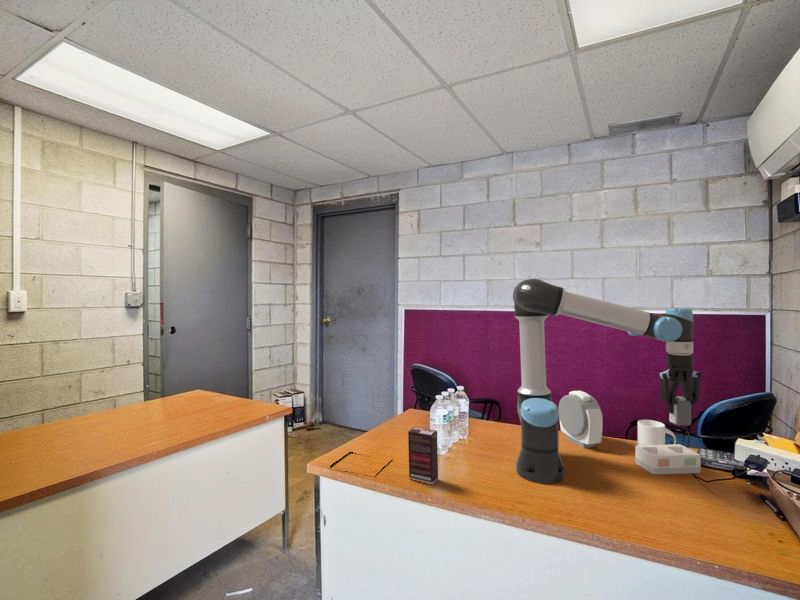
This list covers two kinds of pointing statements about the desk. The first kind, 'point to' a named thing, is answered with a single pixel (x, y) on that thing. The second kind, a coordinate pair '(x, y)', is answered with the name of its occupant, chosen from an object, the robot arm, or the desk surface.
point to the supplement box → (423, 455)
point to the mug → (652, 433)
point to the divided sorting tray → (667, 459)
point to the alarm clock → (581, 419)
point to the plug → (683, 411)
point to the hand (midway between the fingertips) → (680, 422)
